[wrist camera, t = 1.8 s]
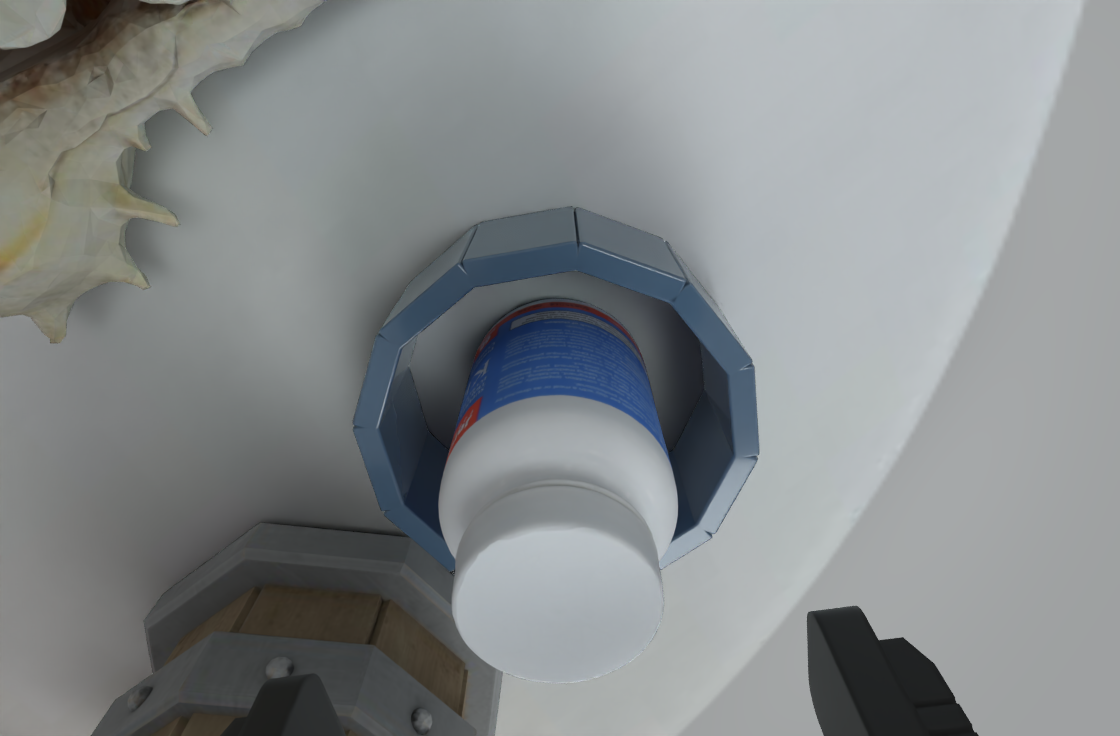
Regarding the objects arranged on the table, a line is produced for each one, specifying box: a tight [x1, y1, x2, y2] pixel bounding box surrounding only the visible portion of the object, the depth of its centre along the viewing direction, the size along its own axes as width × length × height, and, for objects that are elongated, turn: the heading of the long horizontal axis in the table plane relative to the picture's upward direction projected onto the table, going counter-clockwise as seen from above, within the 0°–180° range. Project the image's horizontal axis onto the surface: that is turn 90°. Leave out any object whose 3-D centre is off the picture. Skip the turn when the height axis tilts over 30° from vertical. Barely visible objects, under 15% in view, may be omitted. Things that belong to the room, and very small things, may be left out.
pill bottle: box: [438, 299, 678, 683], centre depth 17 cm, size 6×5×10 cm
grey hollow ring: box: [353, 206, 759, 573], centre depth 19 cm, size 10×10×4 cm
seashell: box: [0, 0, 327, 343], centre depth 13 cm, size 10×9×25 cm
